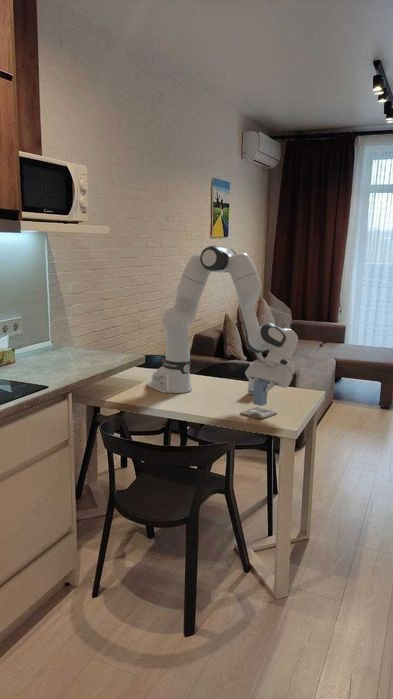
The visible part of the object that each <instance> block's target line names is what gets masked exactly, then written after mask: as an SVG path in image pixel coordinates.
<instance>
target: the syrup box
mask: <svg viewBox="0 0 393 699" xmlns="http://www.w3.org/2000/svg"><path fill="white" fill-rule="evenodd" d="M251 363H252V362H250V363H249V366H250V365H251ZM253 385H254V380H252V379H248V387H247V395H250V394H251V395H253V393H254V389H253V388H252V386H253Z"/></svg>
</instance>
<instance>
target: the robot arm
mask: <svg viewBox="0 0 393 699" xmlns="http://www.w3.org/2000/svg"><path fill="white" fill-rule="evenodd" d="M213 272H215V273H229V275H230V277H231V279H232V283H233V284H234V287H235V290H236V295H237V300H238V301H237V302H238V308H239V311H240V312H239V313H240V315H241V318H242V323H243V326H244V330H245V343H246V346H247V348H248V349H249V350H250V351H251V352H253V353H255V354H261V353H263V352H266V350H269V352H268V353H267V355H266V357H265V359H264V360H260V359H255V360H253V361H252V362H250V363H251V365H250V364H249V366H248V367H247V368H246V370H245V372H244V374H245V376H246V378H247V379H248V380H249V379H252V380H254V382H257V381H263V382H267V383H268V386H267V387H264V389H263V391H264V392H266V393H267V394H268V393H269V391H270V390H271V389H274V387H275V386H276V387H281V388H285V389H286V388H288V387H289V386H290V384H291V382H292V380H293V375H294V374H295V371H296V370H295V368H294V366H293V365H292V364H291V361H289V359H290V357H291V356H293V354H294V352H295V350H296V348H297V346H298V342H299V337H298V334H297V333H296V332H295V330H293V329H291V328H286V327H285V328H282V327H279V326H277V325H276V324H274V323H272V322H267V323H265V324H263V325H261V326H260V324H259V321H258V320H259V319H258V317H257V313H256V303H257V300H258V298H259V296H260V294H261V292H262V288H263V287H262V286H263V285H262V281H261V278H260V275H259V272H258V269H257V267H256V265H255V264H254V261H253V259H252V258H251V257H250V255H249V254H248V253H245V252H238V253H237V252H235V250H233V249H231V248H230V247H226V246H222V245H221V246H219V245H217V246H216V245H210V246H209V245H208V246H207V247H205V248H204V249H203V250H202V251H201V253H195V254H193V255H192V256H191V258H190V259H189V260H188V262H187V264H186V266H185V268H184V270H183V272H182V275H181V278H180V281H179V283H178V286H177V288H176V297H175V302H174V305H173V307H170V308H168V309H167V310H166V311H165V313H163V316H162V318H161V324H162V326H163V328H164V329H163V330H164V337H165V358H164V359H162V360H161V363H162V366H161V367H159V368H158V369H156V370H155V371H154V372H153V373H152V375H151V380H150V381H148V382H146V385H145V386H147V387H150V388H151V389H154V390H156V391H158V392H160V393H164V394H165V393H166V394H168V393H169V394H171V393H173V394H183V393H185V394H186V393H188V392H191V391H192V390H193V389H192V388H193V387H192V384H191V372H190V371H191V370H190V369H191V358H190V356H191V341H190V338H189V337H190V336H189V327H191V326H192V325H193V323H194V322H195V319H196V314H197V311H198V308H199V302H200V299H201V296H202V294H203V291H204V289H205V286H206V284H207V281H208V278H209V276H210V275H211V273H213ZM252 388H253V389H254V385H253V386H252Z"/></svg>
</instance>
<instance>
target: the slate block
mask: <svg viewBox="0 0 393 699" xmlns="http://www.w3.org/2000/svg"><path fill="white" fill-rule="evenodd" d="M268 385H269V384H268V383H267V382H263V381H257V382H254V393H253V394H252V396H253V397H252V404H253V405H257V406H258V407H262V406H266V405H267V402H268V393H266V392H264V391H263V389H264V387H267V386H268Z"/></svg>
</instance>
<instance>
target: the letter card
mask: <svg viewBox="0 0 393 699" xmlns="http://www.w3.org/2000/svg"><path fill="white" fill-rule="evenodd" d="M241 414H242V416H244V417H248V418H252V419H254V420H256V421H257V420H258V421H262V420H265V419H268V418H271V417H273V416H275V415H278V412H276V411H273V410H271V409H270V410H269V409H266V408H262V407H260V406H256V407H253V408H250V409H247V410H244V411H241V412H240V413H239V415H241Z"/></svg>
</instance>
